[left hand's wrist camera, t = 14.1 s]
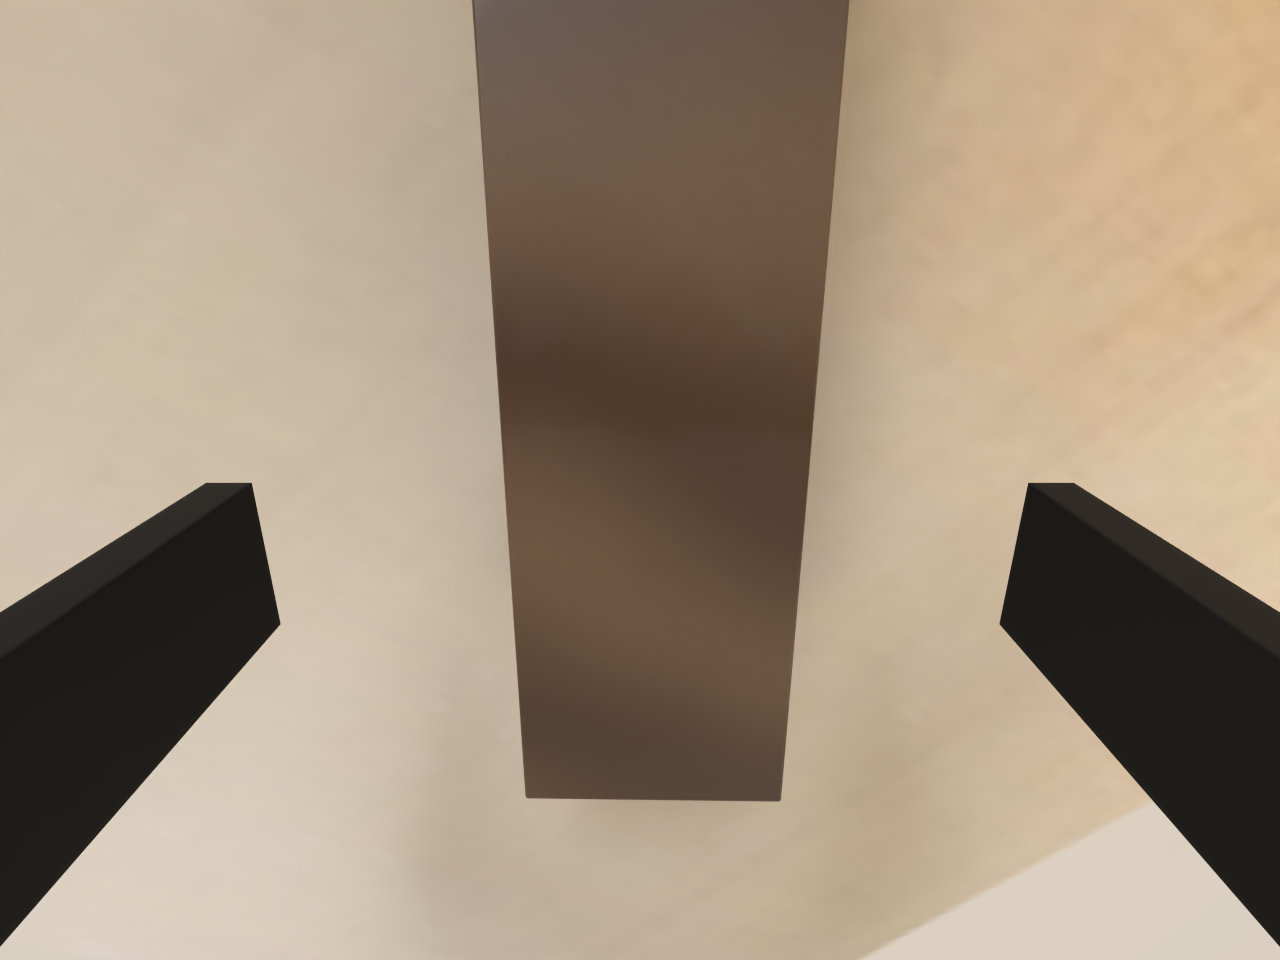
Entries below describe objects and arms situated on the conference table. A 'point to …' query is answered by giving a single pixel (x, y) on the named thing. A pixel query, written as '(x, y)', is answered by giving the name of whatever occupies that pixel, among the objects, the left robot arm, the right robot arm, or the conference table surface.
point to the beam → (657, 374)
